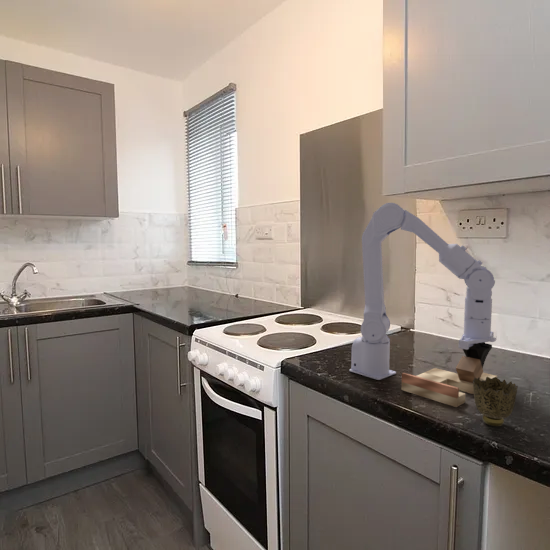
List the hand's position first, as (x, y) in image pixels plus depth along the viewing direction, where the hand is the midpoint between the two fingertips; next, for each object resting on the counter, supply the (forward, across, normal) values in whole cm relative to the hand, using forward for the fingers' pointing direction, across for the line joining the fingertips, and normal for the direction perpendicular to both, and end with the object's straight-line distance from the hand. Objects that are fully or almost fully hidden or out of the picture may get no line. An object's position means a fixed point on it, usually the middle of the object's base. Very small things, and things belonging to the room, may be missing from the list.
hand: (475, 373), depth 96 cm
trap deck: (+3, -5, +4) cm, 7 cm away
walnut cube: (0, -3, 0) cm, 3 cm away
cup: (+3, -18, -11) cm, 21 cm away
